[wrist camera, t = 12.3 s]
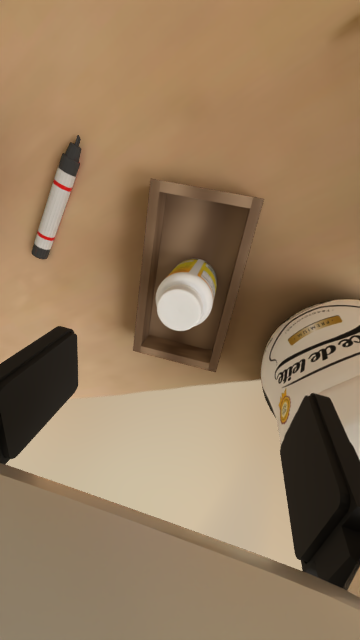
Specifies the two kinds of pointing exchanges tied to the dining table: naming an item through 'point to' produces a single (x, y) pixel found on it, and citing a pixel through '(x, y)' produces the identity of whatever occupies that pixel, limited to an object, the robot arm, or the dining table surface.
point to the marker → (57, 200)
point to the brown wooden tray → (186, 243)
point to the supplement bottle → (186, 295)
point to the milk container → (316, 364)
